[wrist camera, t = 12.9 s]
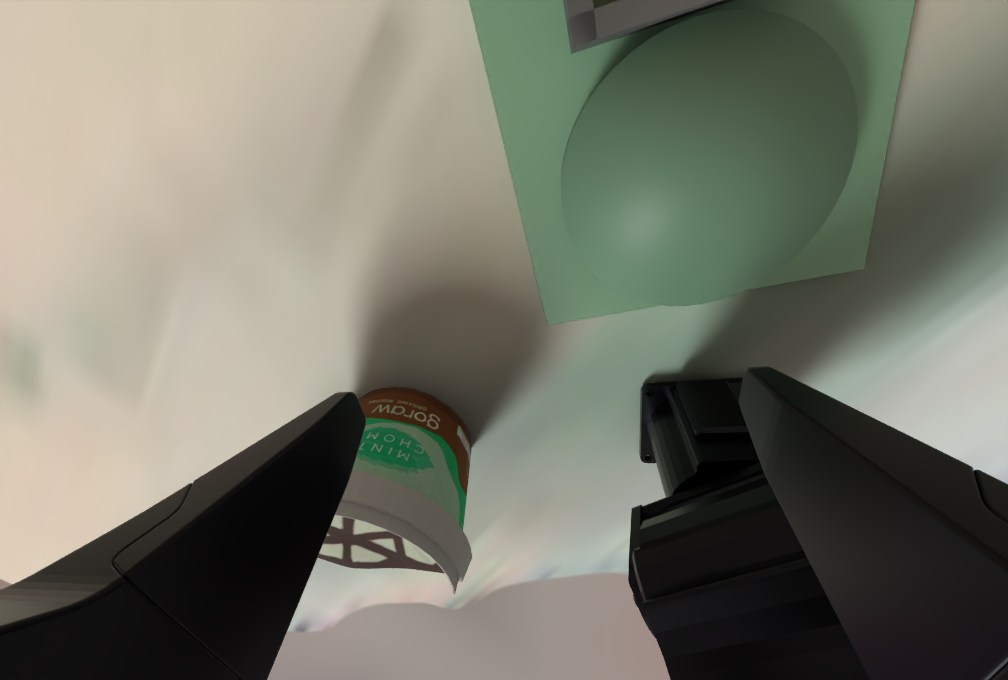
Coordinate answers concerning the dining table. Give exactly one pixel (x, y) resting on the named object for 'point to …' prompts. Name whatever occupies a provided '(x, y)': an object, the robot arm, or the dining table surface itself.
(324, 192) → the dining table surface
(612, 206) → the green domed base plate
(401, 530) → the food container
